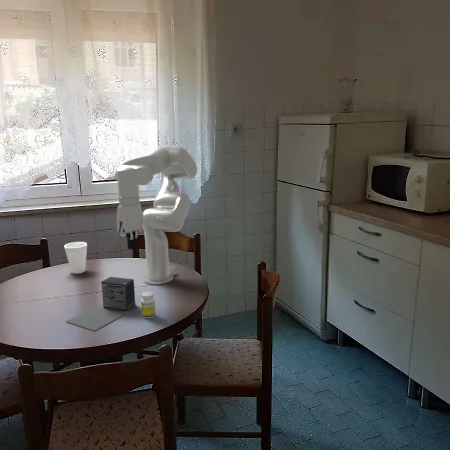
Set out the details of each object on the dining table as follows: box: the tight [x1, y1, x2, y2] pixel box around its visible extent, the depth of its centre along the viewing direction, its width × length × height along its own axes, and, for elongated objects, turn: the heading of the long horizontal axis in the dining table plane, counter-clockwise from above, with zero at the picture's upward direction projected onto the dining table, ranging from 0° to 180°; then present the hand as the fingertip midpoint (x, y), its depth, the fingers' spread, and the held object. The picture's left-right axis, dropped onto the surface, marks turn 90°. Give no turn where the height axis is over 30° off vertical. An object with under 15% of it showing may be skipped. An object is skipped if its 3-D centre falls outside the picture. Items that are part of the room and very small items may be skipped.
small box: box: [100, 276, 136, 312], centre depth 164 cm, size 11×6×10 cm, turn 71°
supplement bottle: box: [140, 291, 156, 319], centre depth 156 cm, size 5×5×8 cm
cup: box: [63, 241, 88, 274], centre depth 202 cm, size 10×10×13 cm
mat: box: [65, 306, 125, 332], centre depth 156 cm, size 14×14×1 cm
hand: (132, 248), depth 168 cm, fingers closed
